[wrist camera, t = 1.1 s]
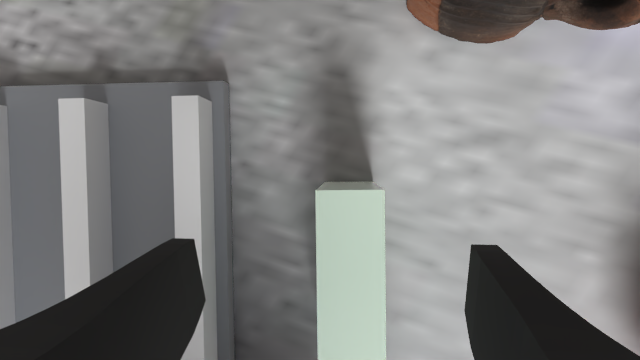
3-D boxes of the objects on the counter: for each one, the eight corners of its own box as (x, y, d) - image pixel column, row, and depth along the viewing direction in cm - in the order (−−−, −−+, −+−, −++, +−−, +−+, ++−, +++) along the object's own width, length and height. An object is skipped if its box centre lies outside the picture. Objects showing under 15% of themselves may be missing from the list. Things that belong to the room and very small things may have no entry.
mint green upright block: (374, 338, 23) (386, 416, 16) (327, 338, 23) (318, 415, 16) (373, 181, 22) (384, 189, 15) (325, 181, 23) (315, 190, 16)
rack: (236, 432, 23) (219, 472, 20) (-90, 424, 24) (-151, 461, 21) (229, 84, 23) (210, 72, 20) (-106, 92, 24) (-171, 82, 21)
